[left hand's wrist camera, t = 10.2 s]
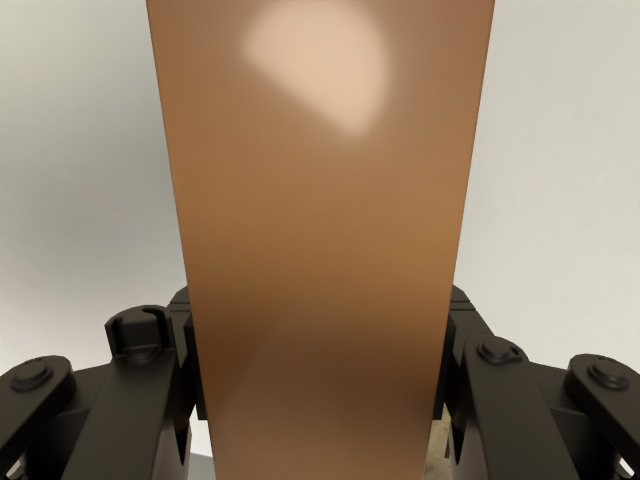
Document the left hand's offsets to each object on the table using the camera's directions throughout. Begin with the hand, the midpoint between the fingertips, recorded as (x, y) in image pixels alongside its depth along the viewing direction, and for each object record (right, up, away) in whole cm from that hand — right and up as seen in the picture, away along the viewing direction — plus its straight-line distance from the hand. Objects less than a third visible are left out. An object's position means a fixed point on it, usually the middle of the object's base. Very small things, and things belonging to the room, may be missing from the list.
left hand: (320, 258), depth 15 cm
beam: (0, +19, -7) cm, 20 cm away
